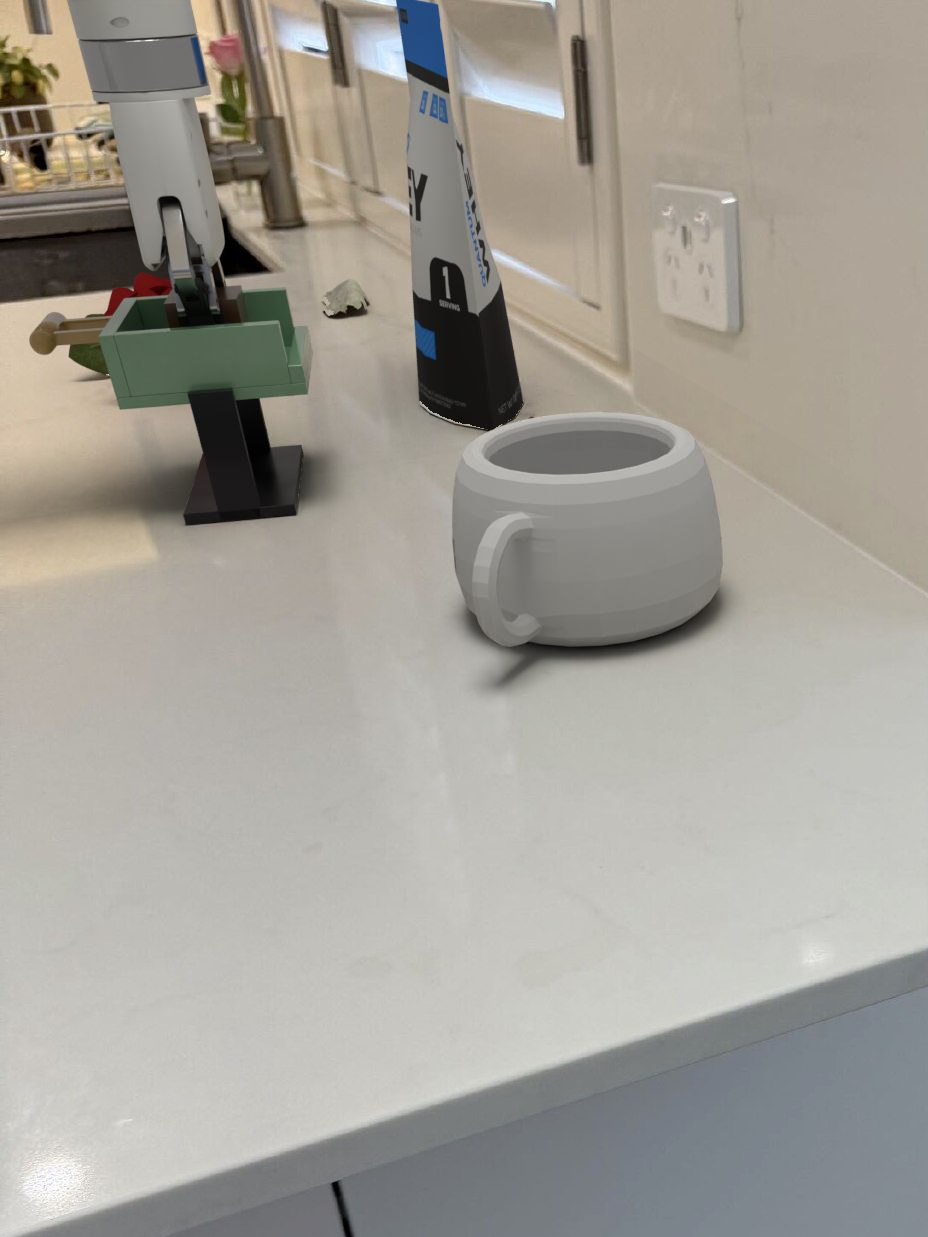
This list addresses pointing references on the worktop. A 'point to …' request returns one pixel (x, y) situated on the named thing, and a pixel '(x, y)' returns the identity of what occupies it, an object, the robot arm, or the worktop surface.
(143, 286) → the flower
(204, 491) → the base
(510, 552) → the mug
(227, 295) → the block
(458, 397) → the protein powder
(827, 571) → the worktop surface
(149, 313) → the dish
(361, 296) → the grey jagged shell
